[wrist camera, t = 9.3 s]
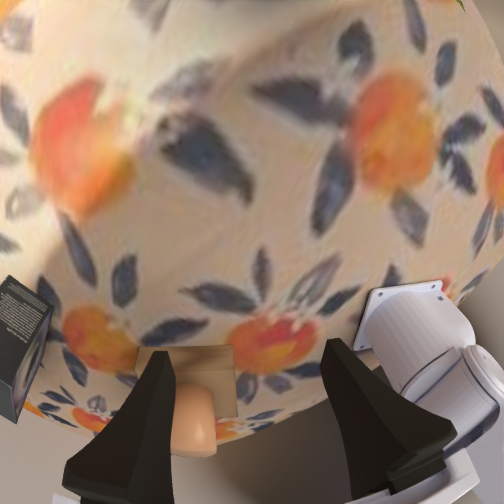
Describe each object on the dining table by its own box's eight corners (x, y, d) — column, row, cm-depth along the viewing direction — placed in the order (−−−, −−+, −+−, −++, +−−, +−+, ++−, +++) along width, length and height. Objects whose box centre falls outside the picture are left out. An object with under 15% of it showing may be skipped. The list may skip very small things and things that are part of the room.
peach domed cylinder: (212, 383, 23) (215, 441, 18) (215, 407, 25) (217, 458, 20) (163, 382, 23) (157, 439, 17) (171, 406, 25) (168, 456, 19)
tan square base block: (232, 345, 25) (234, 369, 22) (235, 395, 29) (237, 416, 27) (139, 346, 24) (134, 370, 21) (160, 396, 28) (157, 417, 26)
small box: (45, 359, 25) (18, 428, 15) (5, 331, 22) (-30, 394, 13) (57, 306, 21) (12, 392, 12) (8, 272, 19) (-48, 344, 10)
